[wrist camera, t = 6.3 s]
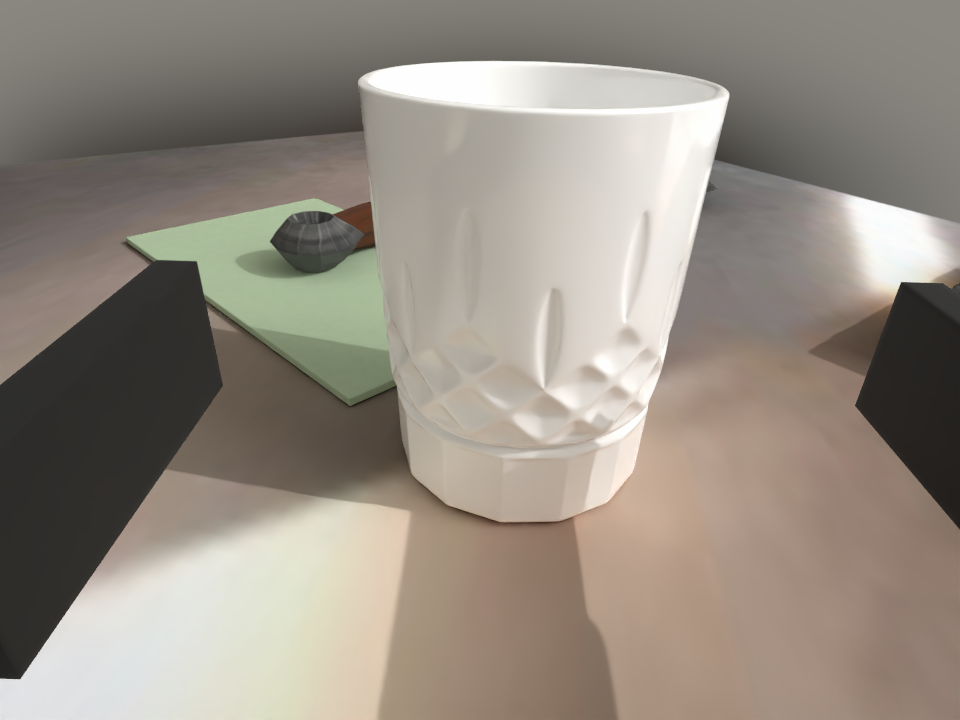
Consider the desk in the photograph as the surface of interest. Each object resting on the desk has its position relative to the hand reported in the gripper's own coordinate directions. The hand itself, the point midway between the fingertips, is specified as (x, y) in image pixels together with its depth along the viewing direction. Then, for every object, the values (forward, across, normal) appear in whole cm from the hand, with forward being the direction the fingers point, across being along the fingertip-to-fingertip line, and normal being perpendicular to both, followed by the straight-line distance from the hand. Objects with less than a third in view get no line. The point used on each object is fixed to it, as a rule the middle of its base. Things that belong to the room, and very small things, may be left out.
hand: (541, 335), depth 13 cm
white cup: (+4, 0, -6) cm, 7 cm away
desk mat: (+17, -9, -6) cm, 20 cm away
